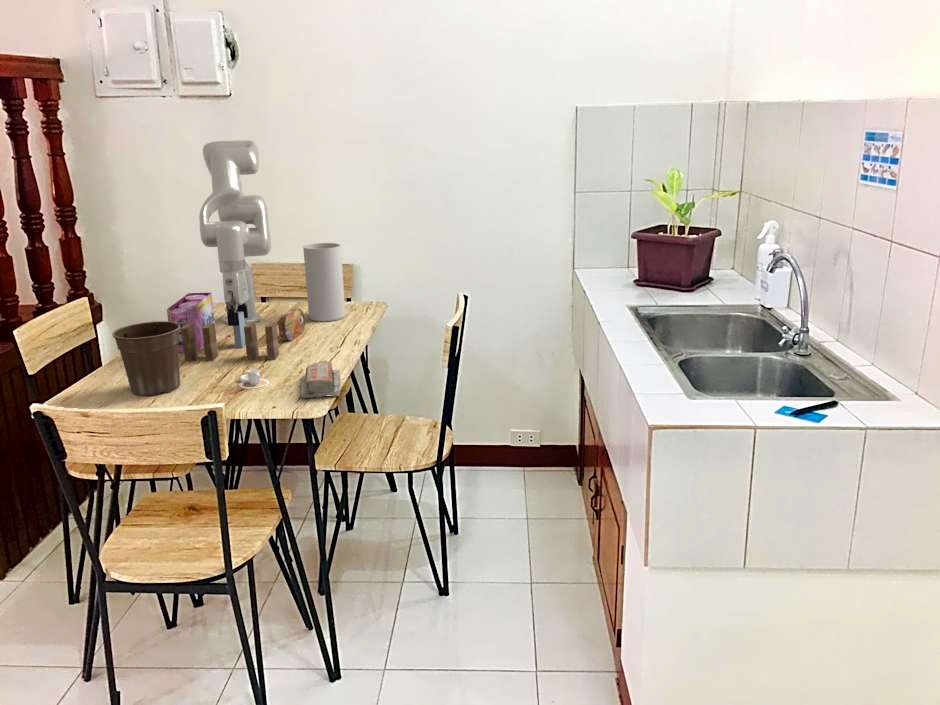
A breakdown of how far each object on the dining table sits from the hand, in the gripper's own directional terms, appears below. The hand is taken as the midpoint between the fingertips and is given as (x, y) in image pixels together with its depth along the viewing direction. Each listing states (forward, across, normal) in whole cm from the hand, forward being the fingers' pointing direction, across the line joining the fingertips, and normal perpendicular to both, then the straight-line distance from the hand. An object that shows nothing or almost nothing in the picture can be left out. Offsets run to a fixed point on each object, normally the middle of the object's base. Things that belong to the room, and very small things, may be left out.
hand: (238, 321), depth 242 cm
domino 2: (+8, -12, +5) cm, 16 cm away
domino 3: (+8, +1, 0) cm, 8 cm away
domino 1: (+8, -12, +11) cm, 18 cm away
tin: (+8, +9, -14) cm, 18 cm away
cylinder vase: (+7, +33, -21) cm, 40 cm away
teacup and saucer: (+9, -33, -14) cm, 37 cm away
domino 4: (+8, -12, -7) cm, 16 cm away
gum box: (+8, +5, +16) cm, 18 cm away
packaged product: (+9, -39, -32) cm, 51 cm away
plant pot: (+9, -38, +12) cm, 41 cm away
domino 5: (+8, -12, -13) cm, 20 cm away
